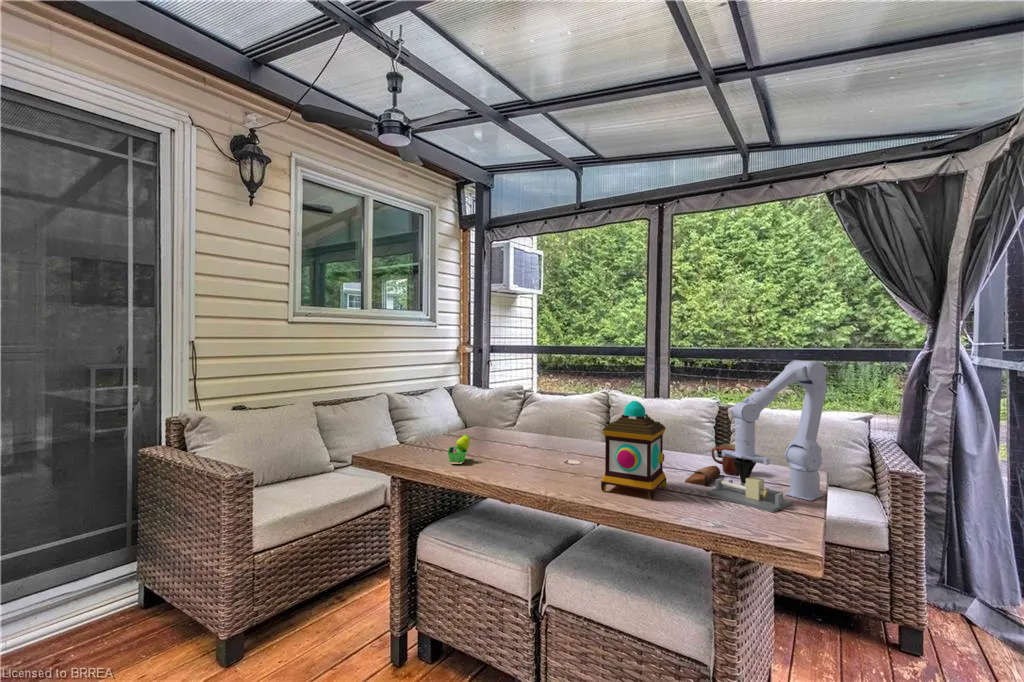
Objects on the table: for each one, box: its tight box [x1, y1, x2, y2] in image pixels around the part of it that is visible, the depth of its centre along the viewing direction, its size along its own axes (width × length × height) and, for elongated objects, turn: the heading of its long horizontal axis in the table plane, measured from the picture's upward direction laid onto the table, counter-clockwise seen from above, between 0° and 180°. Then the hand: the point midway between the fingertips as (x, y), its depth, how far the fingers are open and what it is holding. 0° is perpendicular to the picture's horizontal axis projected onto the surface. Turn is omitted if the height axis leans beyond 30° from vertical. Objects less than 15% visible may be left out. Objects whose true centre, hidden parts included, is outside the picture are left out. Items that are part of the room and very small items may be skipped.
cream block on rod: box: [745, 476, 765, 500], centre depth 151 cm, size 4×4×6 cm
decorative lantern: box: [600, 400, 667, 501], centre depth 162 cm, size 20×20×30 cm
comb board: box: [706, 477, 792, 514], centre depth 152 cm, size 21×12×4 cm, turn 37°
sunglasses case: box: [684, 465, 721, 487], centre depth 175 cm, size 18×7×7 cm, turn 144°
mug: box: [711, 443, 740, 476], centre depth 184 cm, size 12×9×10 cm
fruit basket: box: [447, 434, 471, 463], centre depth 197 cm, size 11×9×11 cm
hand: (744, 482), depth 153 cm, fingers closed
